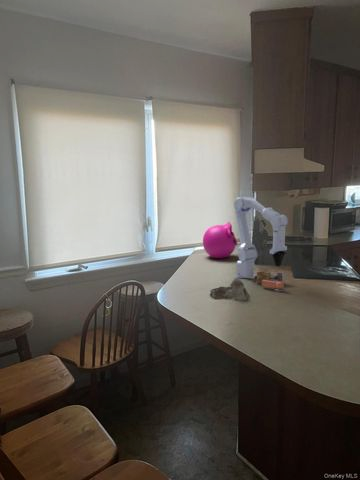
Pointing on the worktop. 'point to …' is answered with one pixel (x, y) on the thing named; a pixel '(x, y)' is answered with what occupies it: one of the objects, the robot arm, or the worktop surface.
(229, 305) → the worktop surface
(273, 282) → the latch lever
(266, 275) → the eye block
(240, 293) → the rock
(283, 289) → the lever base
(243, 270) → the robot arm
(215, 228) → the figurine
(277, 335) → the worktop surface
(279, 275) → the bolt
